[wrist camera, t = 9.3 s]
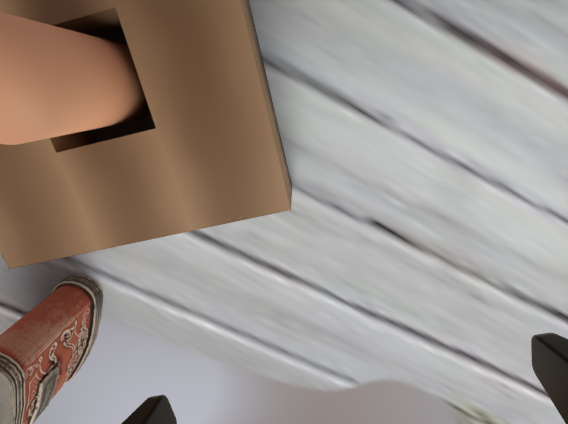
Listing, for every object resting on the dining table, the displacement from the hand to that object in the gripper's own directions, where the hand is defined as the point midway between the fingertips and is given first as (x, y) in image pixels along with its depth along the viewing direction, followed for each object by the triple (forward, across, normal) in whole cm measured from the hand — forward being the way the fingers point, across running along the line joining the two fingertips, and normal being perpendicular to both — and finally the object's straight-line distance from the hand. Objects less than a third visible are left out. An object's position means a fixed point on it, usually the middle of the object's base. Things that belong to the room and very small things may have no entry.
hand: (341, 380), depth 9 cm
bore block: (+12, +8, -9) cm, 17 cm away
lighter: (+12, +17, +4) cm, 21 cm away
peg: (+11, +8, -9) cm, 17 cm away
